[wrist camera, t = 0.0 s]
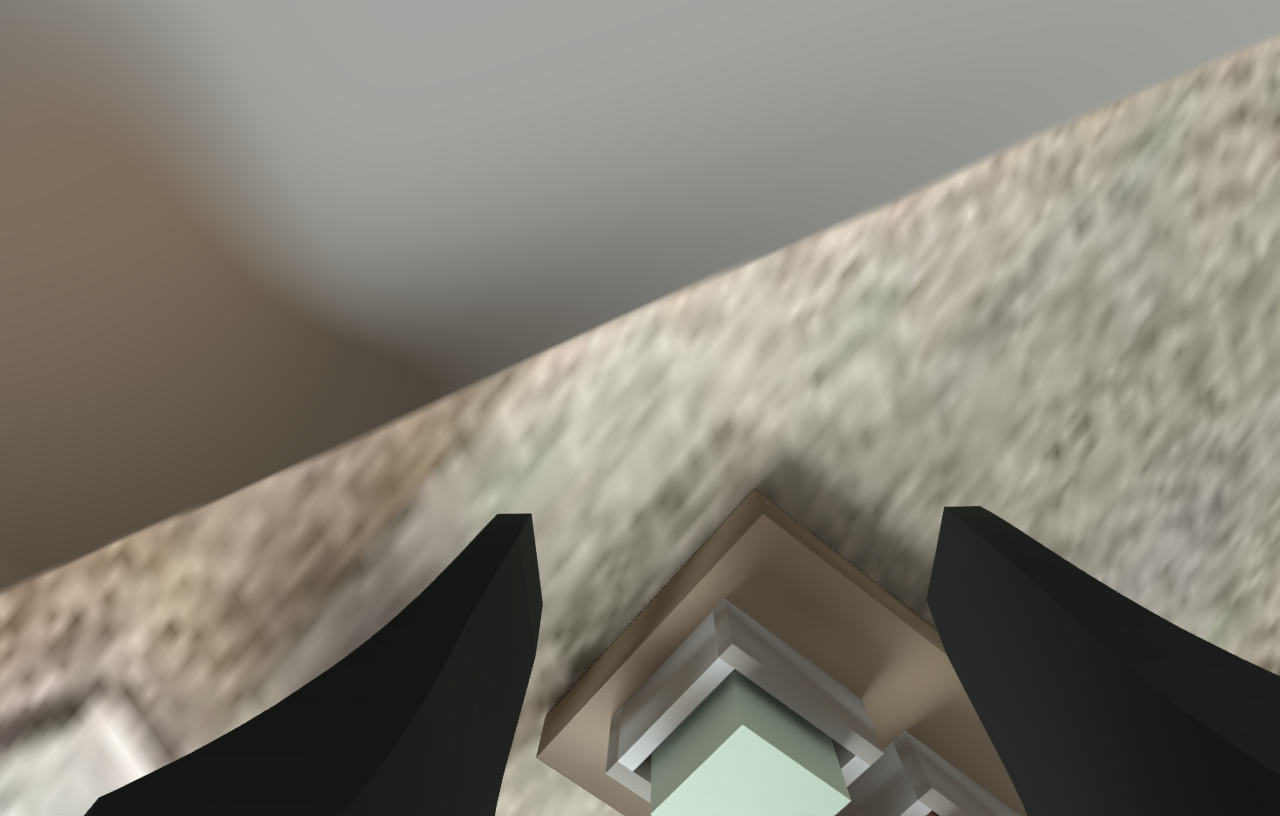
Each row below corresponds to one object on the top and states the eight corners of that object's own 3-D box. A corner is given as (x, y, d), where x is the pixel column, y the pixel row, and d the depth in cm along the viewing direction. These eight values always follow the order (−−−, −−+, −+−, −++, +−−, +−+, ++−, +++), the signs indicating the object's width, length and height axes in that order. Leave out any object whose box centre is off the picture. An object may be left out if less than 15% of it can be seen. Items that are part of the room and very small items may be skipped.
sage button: (746, 815, 22) (756, 884, 20) (651, 750, 22) (650, 814, 19) (830, 737, 21) (851, 800, 19) (733, 667, 21) (742, 724, 18)
